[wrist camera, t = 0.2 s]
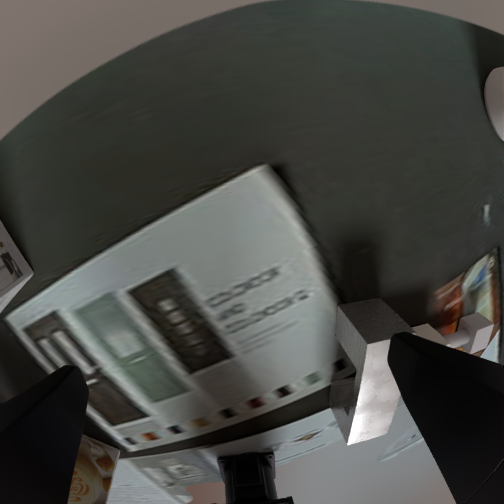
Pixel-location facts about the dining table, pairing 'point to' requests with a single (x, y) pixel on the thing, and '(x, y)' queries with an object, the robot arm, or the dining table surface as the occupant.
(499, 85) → the alcohol
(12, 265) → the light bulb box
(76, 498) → the coffee box
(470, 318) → the plug
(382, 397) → the white block
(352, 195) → the dining table surface
